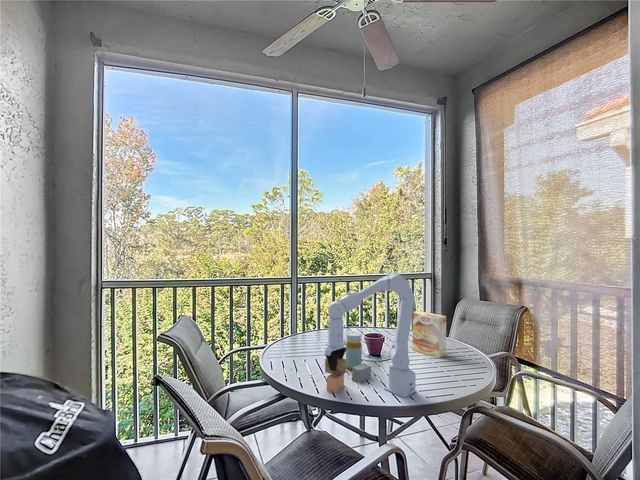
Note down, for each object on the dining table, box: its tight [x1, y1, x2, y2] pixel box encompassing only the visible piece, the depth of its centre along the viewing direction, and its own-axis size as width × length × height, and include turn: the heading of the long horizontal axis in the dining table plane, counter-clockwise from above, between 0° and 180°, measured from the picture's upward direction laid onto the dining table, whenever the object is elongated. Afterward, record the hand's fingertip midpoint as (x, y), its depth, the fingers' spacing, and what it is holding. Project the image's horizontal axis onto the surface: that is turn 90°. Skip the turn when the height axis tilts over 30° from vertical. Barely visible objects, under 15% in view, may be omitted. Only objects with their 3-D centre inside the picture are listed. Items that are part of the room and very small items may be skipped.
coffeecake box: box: [412, 310, 447, 358], centre depth 171 cm, size 15×7×20 cm, turn 42°
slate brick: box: [351, 363, 372, 383], centre depth 139 cm, size 7×4×5 cm, turn 131°
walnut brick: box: [324, 358, 347, 376], centre depth 130 cm, size 7×4×5 cm, turn 62°
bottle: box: [345, 331, 363, 371], centre depth 150 cm, size 7×7×15 cm
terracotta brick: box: [326, 373, 345, 393], centre depth 130 cm, size 7×4×5 cm, turn 152°
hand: (335, 368), depth 130 cm, fingers closed on walnut brick, 4 cm apart
